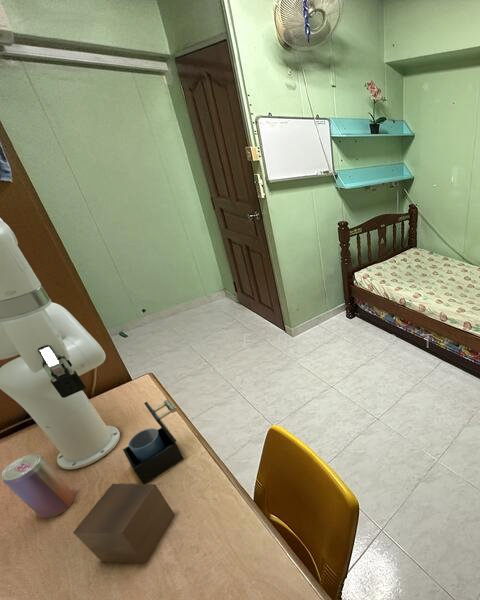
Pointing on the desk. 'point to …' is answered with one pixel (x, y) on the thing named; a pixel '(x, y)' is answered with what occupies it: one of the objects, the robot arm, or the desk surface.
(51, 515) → the beverage can
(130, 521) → the stand
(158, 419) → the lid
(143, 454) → the cup
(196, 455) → the desk surface
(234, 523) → the desk surface
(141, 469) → the wash box
